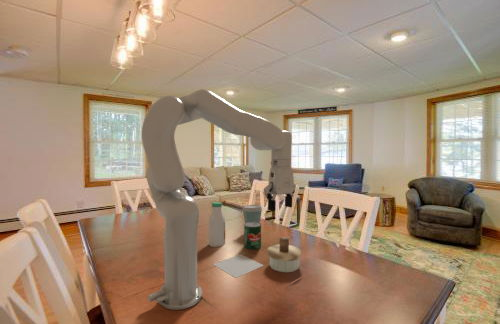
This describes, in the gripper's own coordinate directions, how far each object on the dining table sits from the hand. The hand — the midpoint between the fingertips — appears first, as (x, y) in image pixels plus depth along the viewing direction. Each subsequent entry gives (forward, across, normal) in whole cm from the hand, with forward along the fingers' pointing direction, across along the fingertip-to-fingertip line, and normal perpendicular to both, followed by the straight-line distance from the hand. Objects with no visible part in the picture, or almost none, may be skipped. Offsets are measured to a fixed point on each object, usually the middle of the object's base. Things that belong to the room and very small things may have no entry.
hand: (280, 208), depth 97 cm
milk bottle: (+23, -5, +35) cm, 42 cm away
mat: (+23, -12, +10) cm, 28 cm away
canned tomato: (+23, +5, +21) cm, 31 cm away
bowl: (+22, +1, -1) cm, 23 cm away
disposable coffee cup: (+23, +19, +36) cm, 46 cm away
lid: (+18, +1, -1) cm, 18 cm away
